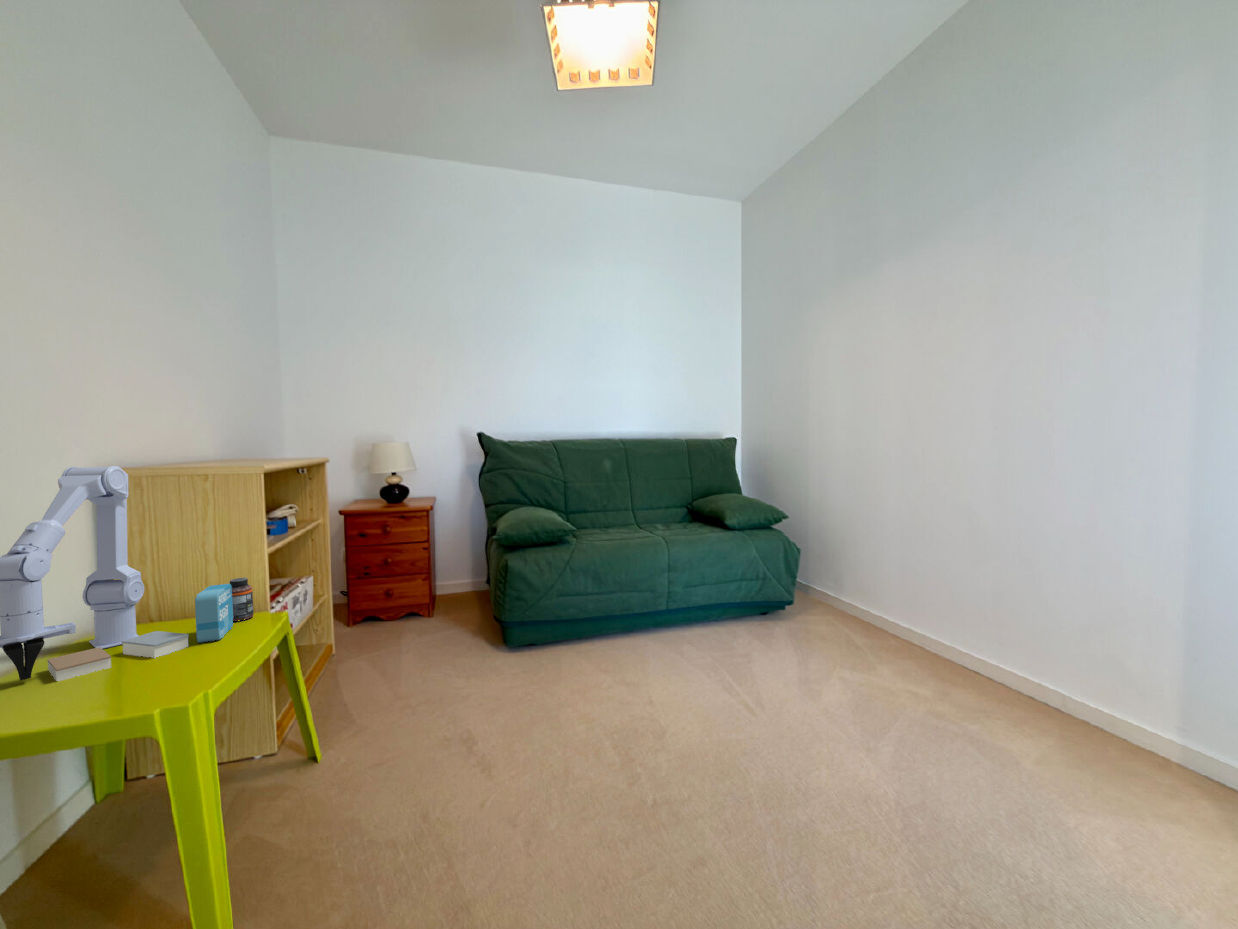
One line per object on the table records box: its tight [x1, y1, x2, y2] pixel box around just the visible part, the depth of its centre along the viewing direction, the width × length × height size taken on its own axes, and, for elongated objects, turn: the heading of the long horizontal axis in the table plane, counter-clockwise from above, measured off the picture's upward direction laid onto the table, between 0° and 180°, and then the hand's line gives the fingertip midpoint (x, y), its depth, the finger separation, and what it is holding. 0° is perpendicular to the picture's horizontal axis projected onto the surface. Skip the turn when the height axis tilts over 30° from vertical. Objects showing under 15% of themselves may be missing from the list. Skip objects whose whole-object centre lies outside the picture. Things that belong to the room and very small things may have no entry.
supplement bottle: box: [229, 577, 254, 621], centre depth 142 cm, size 6×6×11 cm
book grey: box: [122, 630, 190, 659], centre depth 120 cm, size 11×7×3 cm, turn 74°
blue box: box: [194, 583, 234, 643], centre depth 129 cm, size 12×4×12 cm, turn 24°
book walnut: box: [46, 647, 112, 682], centre depth 109 cm, size 10×8×3 cm
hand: (25, 678), depth 103 cm, fingers closed
